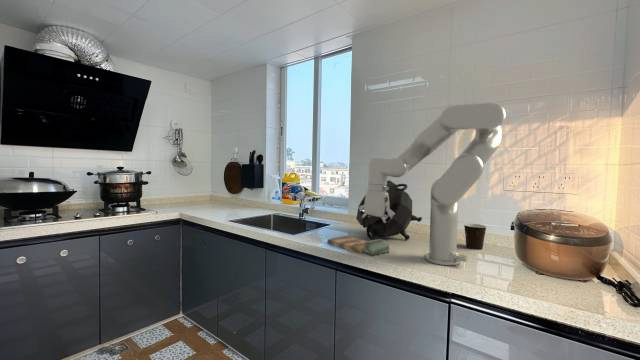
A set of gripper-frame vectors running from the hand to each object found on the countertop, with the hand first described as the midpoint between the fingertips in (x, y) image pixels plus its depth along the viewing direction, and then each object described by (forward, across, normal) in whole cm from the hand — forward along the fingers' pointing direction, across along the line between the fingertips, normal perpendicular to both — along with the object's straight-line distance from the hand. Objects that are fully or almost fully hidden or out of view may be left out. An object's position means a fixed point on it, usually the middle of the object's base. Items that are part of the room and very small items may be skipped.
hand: (374, 229), depth 117 cm
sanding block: (+10, -1, -1) cm, 10 cm away
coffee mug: (+8, -24, -40) cm, 47 cm away
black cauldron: (+10, +12, -26) cm, 30 cm away
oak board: (+10, +12, -1) cm, 16 cm away
